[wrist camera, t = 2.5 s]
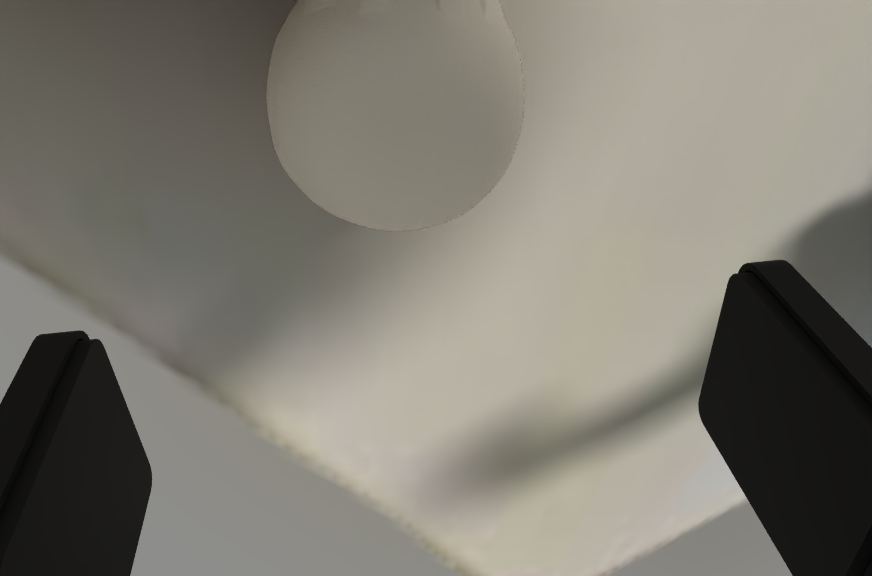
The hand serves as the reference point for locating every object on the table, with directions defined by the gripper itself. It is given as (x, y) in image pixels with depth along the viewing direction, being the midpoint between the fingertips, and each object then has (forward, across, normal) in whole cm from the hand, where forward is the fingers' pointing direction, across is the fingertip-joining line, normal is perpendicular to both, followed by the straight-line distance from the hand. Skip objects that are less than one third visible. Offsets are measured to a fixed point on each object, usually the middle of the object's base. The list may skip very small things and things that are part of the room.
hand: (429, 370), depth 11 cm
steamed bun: (+14, 0, -1) cm, 14 cm away
